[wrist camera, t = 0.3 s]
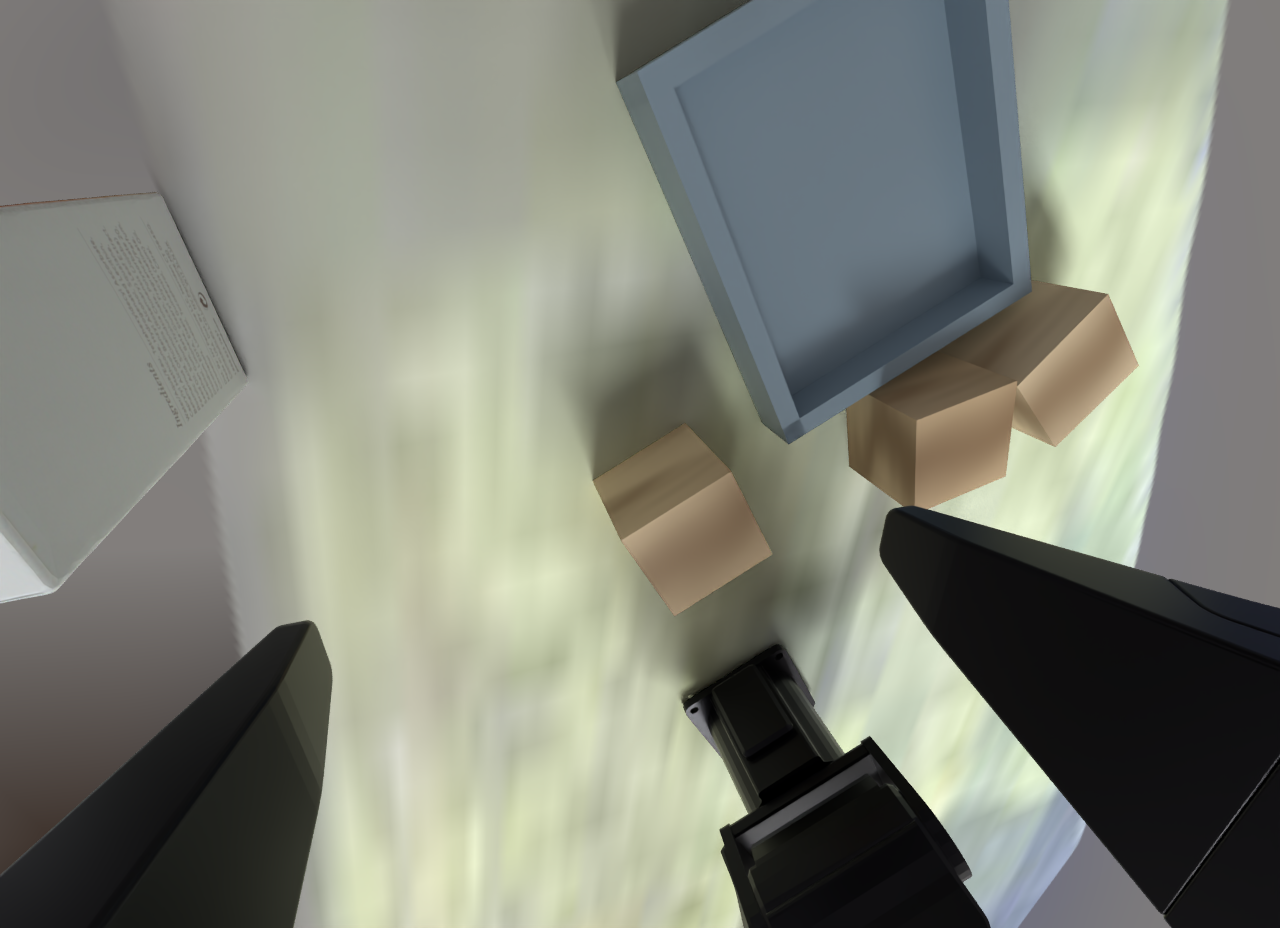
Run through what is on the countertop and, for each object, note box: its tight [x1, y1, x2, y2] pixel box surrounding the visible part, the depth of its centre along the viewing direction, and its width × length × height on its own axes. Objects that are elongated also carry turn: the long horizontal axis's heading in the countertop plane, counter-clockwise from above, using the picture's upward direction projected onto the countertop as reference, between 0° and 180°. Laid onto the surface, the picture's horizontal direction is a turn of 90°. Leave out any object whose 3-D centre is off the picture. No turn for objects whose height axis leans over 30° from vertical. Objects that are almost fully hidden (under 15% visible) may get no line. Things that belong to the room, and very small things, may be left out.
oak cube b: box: [846, 351, 1017, 509], centre depth 24 cm, size 4×4×4 cm
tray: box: [616, 0, 1032, 444], centre depth 20 cm, size 14×12×2 cm
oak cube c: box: [938, 280, 1139, 447], centre depth 24 cm, size 4×4×4 cm
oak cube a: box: [593, 423, 772, 616], centre depth 23 cm, size 4×4×4 cm
